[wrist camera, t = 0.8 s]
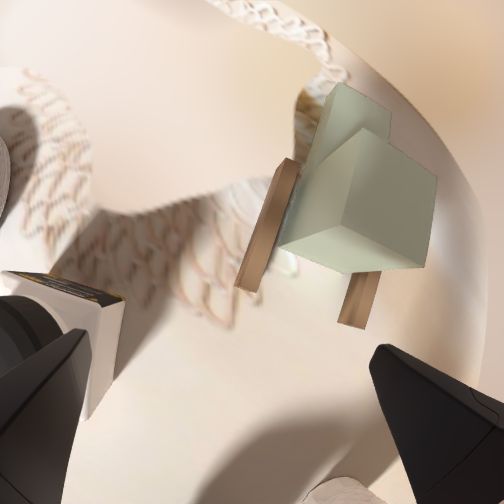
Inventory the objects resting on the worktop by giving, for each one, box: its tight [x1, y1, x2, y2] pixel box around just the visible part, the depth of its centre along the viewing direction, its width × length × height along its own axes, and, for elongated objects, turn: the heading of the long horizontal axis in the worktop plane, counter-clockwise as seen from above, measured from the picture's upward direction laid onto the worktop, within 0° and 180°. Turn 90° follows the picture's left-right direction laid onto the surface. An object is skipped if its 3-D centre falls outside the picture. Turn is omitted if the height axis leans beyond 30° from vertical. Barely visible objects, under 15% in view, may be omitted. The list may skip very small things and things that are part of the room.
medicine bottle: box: [0, 271, 125, 421], centre depth 13 cm, size 7×7×12 cm
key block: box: [278, 82, 437, 273], centre depth 20 cm, size 16×6×10 cm, turn 160°
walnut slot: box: [234, 158, 382, 330], centre depth 23 cm, size 10×10×2 cm
